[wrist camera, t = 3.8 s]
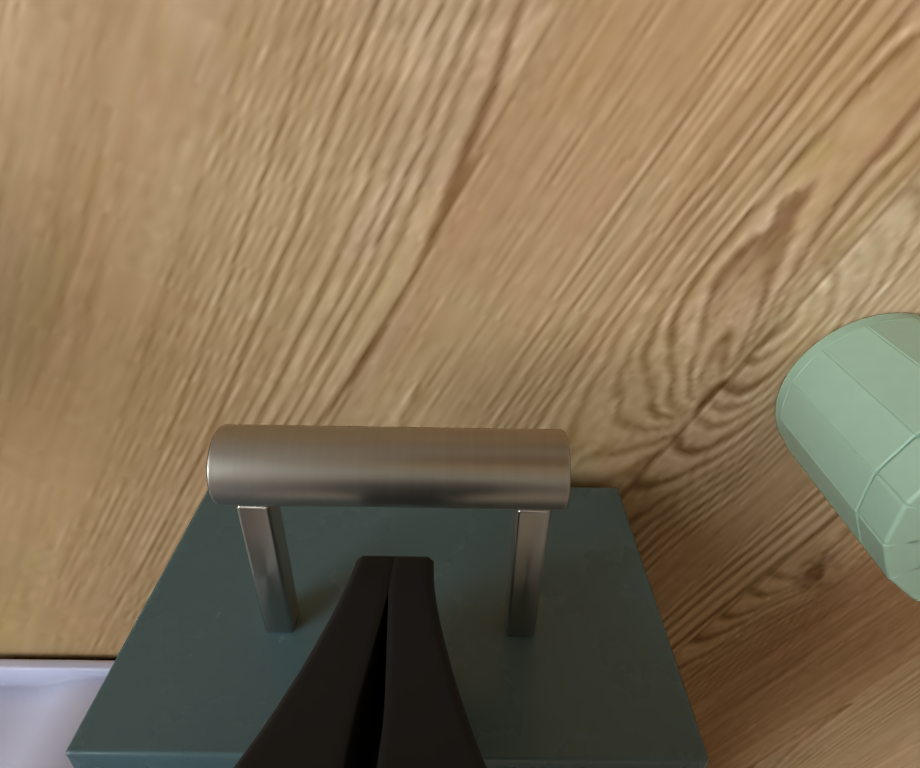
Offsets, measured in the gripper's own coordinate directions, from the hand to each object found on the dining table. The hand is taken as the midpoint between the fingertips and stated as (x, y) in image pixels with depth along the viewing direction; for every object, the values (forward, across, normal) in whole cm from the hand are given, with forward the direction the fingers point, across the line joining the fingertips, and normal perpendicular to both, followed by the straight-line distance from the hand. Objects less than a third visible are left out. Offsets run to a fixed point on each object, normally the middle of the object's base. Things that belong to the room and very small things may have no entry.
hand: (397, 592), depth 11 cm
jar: (+6, -12, -1) cm, 13 cm away
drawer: (+5, 0, +6) cm, 8 cm away
